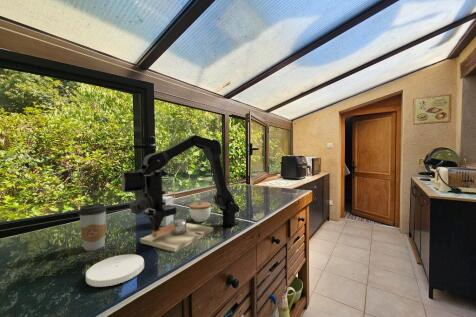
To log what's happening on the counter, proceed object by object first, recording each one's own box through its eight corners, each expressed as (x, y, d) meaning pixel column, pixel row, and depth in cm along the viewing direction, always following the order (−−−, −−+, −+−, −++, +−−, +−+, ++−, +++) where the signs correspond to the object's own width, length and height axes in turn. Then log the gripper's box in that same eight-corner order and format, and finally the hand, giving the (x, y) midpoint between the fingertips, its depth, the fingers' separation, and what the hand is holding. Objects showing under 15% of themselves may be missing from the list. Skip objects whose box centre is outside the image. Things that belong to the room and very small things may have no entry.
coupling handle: (178, 228, 90) (178, 218, 90) (189, 230, 88) (189, 220, 88) (148, 241, 77) (148, 230, 77) (160, 244, 74) (160, 232, 74)
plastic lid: (110, 296, 51) (110, 285, 51) (73, 283, 56) (73, 274, 56) (154, 267, 64) (154, 258, 64) (121, 259, 69) (120, 251, 69)
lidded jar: (193, 216, 114) (193, 199, 114) (213, 217, 112) (213, 199, 112) (186, 223, 103) (185, 203, 103) (207, 223, 102) (207, 204, 101)
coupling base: (181, 225, 100) (181, 221, 100) (214, 231, 91) (214, 227, 91) (140, 242, 81) (140, 238, 81) (176, 252, 72) (175, 247, 72)
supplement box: (166, 226, 99) (165, 199, 99) (151, 225, 101) (150, 198, 100) (174, 221, 106) (173, 196, 106) (160, 220, 108) (159, 195, 108)
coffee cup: (78, 254, 73) (76, 210, 72) (82, 245, 80) (80, 205, 80) (106, 248, 77) (105, 206, 76) (108, 240, 84) (107, 202, 84)
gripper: (119, 189, 78) (121, 232, 78) (146, 195, 66) (148, 245, 67) (148, 185, 87) (150, 224, 87) (176, 189, 75) (178, 234, 75)
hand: (155, 231), depth 79 cm, fingers closed
